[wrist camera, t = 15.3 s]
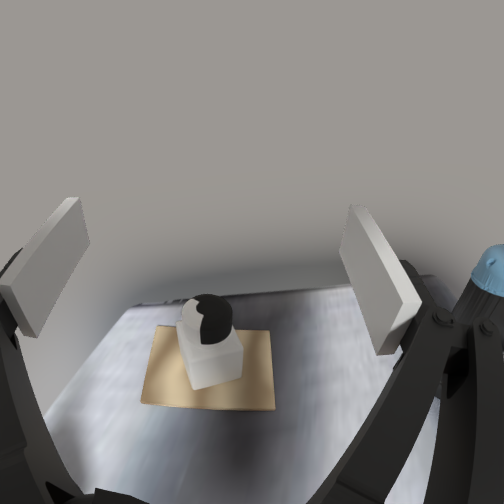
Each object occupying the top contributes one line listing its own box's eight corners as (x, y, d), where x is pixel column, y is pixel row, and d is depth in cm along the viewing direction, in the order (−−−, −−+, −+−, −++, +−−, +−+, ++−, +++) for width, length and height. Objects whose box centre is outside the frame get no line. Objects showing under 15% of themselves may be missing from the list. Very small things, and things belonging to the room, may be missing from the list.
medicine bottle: (225, 341, 48) (225, 282, 41) (242, 378, 43) (246, 321, 36) (180, 352, 46) (170, 293, 39) (193, 391, 40) (184, 336, 33)
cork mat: (269, 332, 51) (269, 330, 50) (274, 410, 39) (275, 408, 39) (157, 328, 50) (156, 325, 49) (141, 403, 38) (140, 401, 38)
